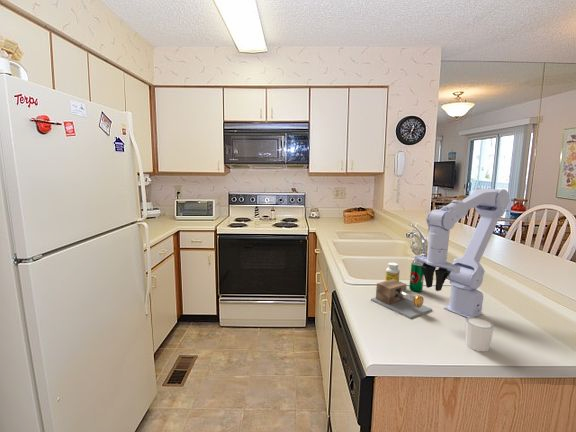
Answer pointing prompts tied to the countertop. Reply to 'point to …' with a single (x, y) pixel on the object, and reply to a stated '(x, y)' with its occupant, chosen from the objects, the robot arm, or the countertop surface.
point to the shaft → (410, 298)
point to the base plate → (405, 308)
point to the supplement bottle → (392, 272)
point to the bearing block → (389, 291)
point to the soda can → (416, 277)
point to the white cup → (478, 333)
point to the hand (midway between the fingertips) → (433, 288)
